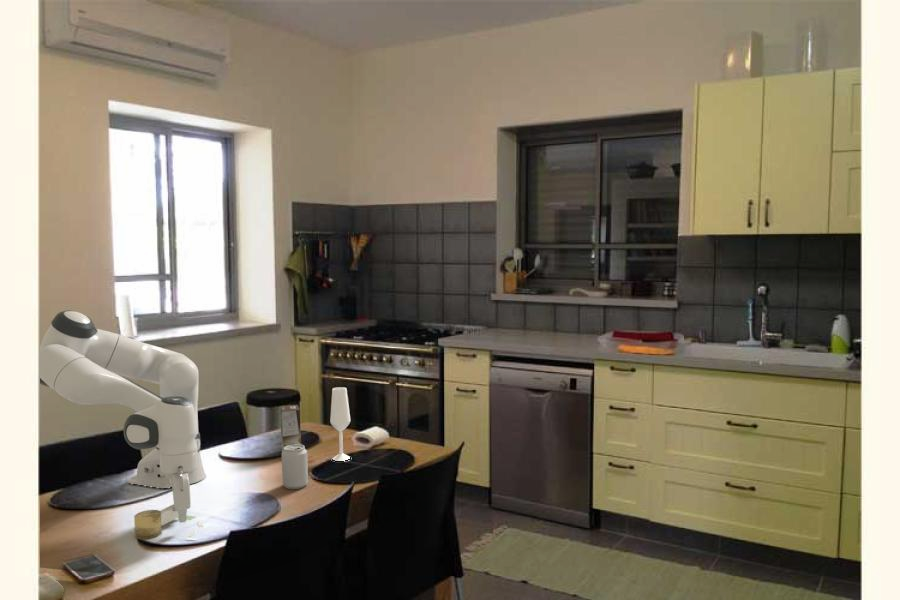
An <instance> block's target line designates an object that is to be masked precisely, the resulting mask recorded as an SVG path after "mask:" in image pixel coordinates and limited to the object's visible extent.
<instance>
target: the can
mask: <svg viewBox="0 0 900 600" xmlns="http://www.w3.org/2000/svg"><path fill="white" fill-rule="evenodd" d="M308 470H309V466H308V450H307V449H306V448H305V445H304V444H301V445H299V444H295V445H288V446H285V447H284V451H283V452H282V451H281V471H282V473H281V474H282V477H281V478H282V485H283V487H285V488H286V489H289V490H299V489H302V488H303V489H304V488H305V487H306V485H308V483H309V471H308Z"/></svg>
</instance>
